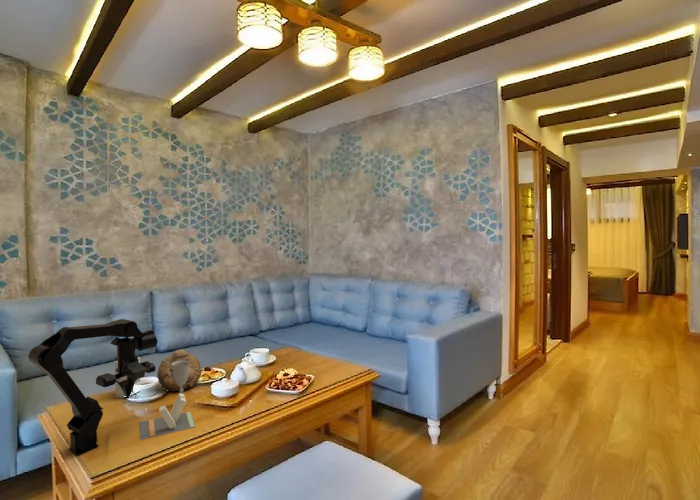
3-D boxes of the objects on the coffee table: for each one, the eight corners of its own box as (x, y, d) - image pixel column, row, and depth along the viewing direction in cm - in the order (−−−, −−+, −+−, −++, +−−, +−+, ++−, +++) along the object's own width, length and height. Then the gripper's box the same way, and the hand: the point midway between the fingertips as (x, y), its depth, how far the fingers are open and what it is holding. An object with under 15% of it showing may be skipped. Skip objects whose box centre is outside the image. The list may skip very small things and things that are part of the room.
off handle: (170, 429, 142) (159, 411, 140) (169, 425, 145) (158, 408, 143) (175, 425, 143) (165, 408, 141) (175, 422, 146) (164, 404, 144)
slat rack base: (139, 443, 136) (139, 415, 135) (139, 425, 148) (138, 399, 147) (195, 430, 144) (195, 404, 144) (190, 414, 157) (190, 390, 156)
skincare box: (127, 399, 170) (126, 363, 170) (114, 397, 172) (113, 362, 171) (141, 391, 179) (140, 356, 178) (128, 389, 180) (127, 355, 179)
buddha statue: (165, 398, 171) (163, 358, 170) (153, 387, 184) (151, 350, 183) (211, 385, 185) (209, 348, 184) (196, 375, 198) (194, 341, 197)
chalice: (168, 407, 163) (167, 364, 162) (182, 401, 169) (181, 359, 168) (180, 411, 159) (180, 367, 158) (194, 404, 165) (193, 362, 164)
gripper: (112, 366, 131) (113, 412, 132) (164, 351, 147) (164, 392, 148) (94, 360, 137) (95, 404, 138) (146, 346, 153) (147, 386, 154)
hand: (127, 396), depth 144 cm, fingers closed
